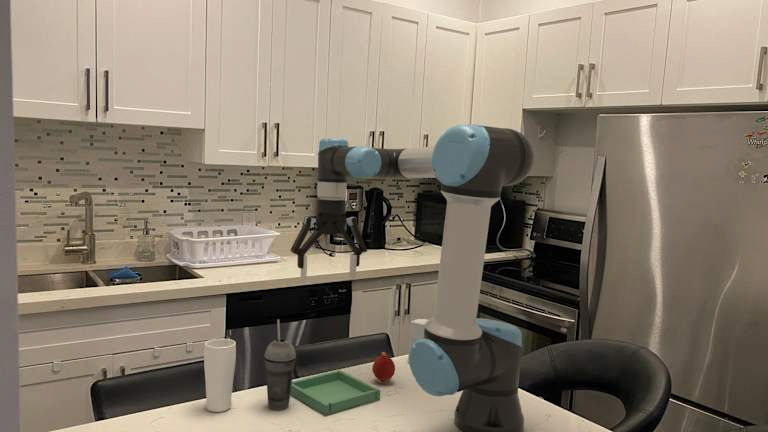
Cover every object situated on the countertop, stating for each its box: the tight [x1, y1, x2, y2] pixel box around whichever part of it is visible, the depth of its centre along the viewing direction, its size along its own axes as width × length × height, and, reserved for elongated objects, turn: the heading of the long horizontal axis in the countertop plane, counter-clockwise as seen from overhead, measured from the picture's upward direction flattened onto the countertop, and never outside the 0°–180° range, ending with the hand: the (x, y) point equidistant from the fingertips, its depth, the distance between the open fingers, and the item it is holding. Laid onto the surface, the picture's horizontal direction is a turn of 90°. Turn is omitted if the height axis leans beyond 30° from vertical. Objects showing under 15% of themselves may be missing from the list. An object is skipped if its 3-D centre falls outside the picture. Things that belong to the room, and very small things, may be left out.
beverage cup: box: [263, 319, 297, 412], centre depth 136 cm, size 7×7×20 cm
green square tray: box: [290, 369, 381, 417], centre depth 144 cm, size 16×16×2 cm
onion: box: [371, 351, 396, 384], centre depth 155 cm, size 6×6×8 cm
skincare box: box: [407, 317, 429, 365], centre depth 172 cm, size 6×4×12 cm
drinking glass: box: [203, 338, 237, 413], centre depth 134 cm, size 7×7×15 cm
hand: (328, 279), depth 157 cm, fingers open, 13 cm apart
